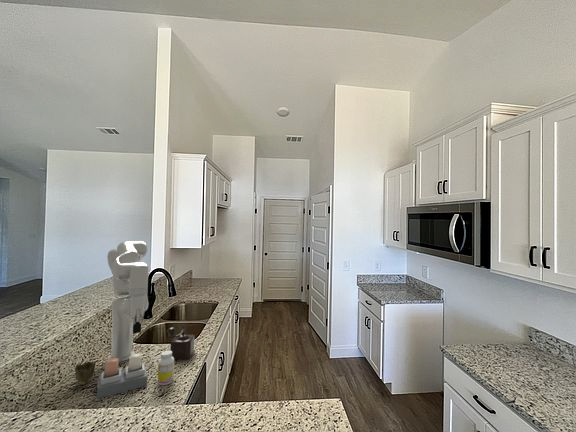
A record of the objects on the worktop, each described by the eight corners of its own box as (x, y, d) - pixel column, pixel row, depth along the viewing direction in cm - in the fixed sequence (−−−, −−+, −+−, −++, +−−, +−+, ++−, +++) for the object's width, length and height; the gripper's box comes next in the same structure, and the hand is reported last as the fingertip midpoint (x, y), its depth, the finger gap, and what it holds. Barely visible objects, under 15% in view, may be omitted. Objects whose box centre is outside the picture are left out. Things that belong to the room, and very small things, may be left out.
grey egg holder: (99, 384, 119) (99, 370, 119) (144, 373, 128) (145, 360, 129) (96, 398, 109) (97, 383, 109) (146, 385, 118) (147, 371, 118)
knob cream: (128, 366, 122) (129, 354, 122) (140, 363, 124) (141, 352, 125) (129, 370, 118) (129, 359, 118) (141, 368, 120) (142, 356, 121)
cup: (92, 377, 124) (92, 359, 125) (97, 383, 120) (98, 364, 120) (71, 384, 119) (72, 365, 119) (76, 390, 114) (77, 371, 114)
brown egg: (105, 371, 117) (105, 359, 117) (118, 368, 120) (118, 357, 120) (104, 376, 113) (105, 364, 113) (117, 373, 116) (118, 361, 116)
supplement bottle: (162, 377, 125) (163, 349, 125) (176, 377, 124) (177, 349, 125) (154, 385, 118) (155, 355, 119) (169, 386, 118) (170, 356, 118)
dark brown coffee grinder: (174, 352, 151) (175, 319, 152) (194, 351, 152) (195, 318, 154) (164, 365, 136) (165, 329, 137) (187, 364, 137) (188, 328, 138)
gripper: (128, 289, 127) (126, 329, 126) (129, 295, 115) (127, 339, 113) (146, 287, 131) (144, 326, 130) (148, 293, 119) (147, 336, 117)
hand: (136, 332), depth 122 cm, fingers closed
